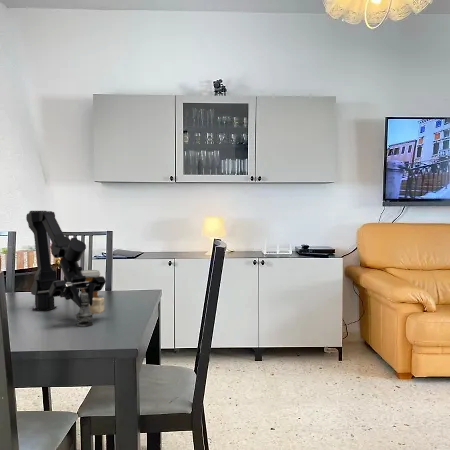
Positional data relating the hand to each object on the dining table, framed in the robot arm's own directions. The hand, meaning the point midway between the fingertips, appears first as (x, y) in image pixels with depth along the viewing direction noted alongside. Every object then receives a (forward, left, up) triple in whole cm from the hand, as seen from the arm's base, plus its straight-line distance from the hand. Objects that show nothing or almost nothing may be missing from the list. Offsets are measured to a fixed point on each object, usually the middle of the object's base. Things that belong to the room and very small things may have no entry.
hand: (86, 305), depth 156 cm
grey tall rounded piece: (-1, +1, -7) cm, 7 cm away
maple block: (-9, +20, -7) cm, 23 cm away
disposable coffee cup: (-27, +43, -7) cm, 51 cm away
